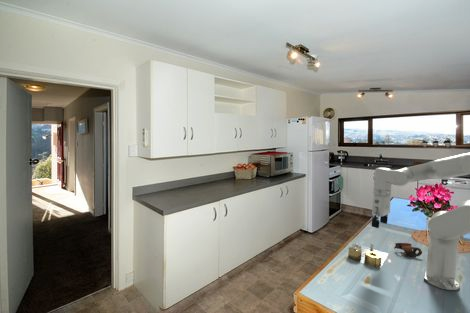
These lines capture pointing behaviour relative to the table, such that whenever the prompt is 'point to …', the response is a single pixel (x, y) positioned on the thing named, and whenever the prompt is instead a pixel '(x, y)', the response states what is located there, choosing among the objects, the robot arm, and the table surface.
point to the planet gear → (373, 258)
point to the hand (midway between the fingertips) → (379, 225)
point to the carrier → (359, 254)
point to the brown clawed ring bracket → (408, 249)
